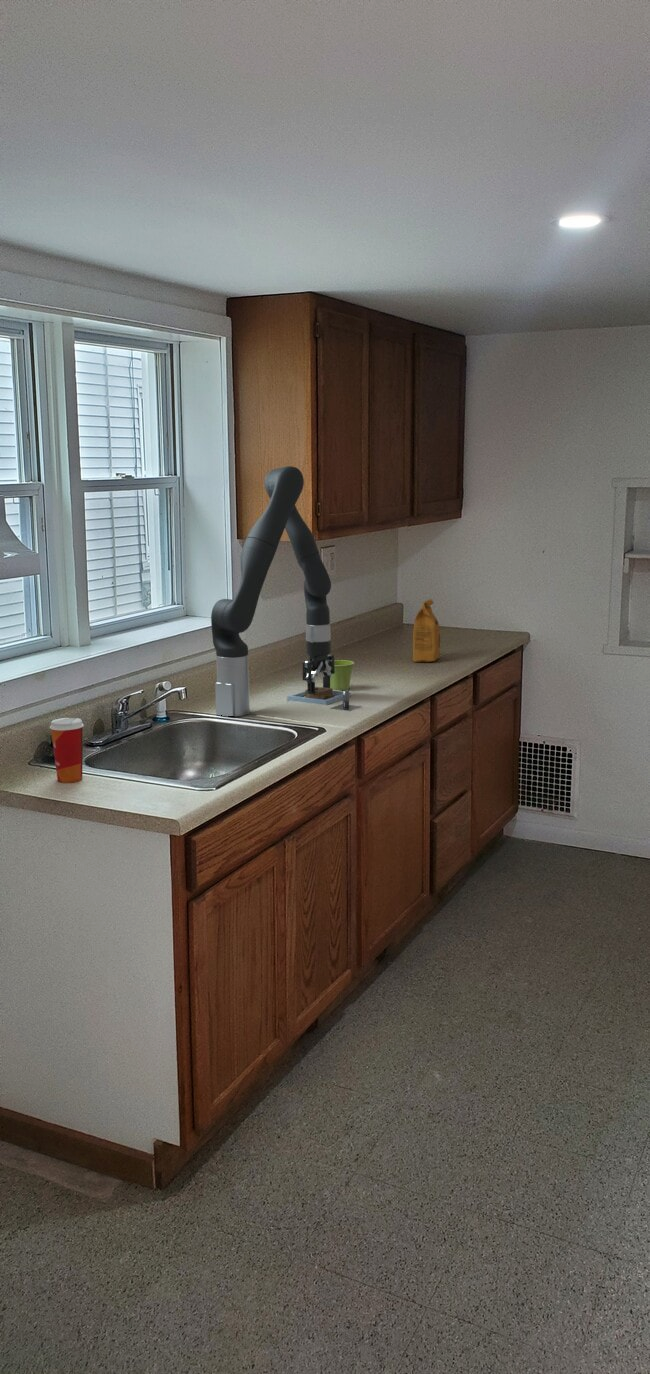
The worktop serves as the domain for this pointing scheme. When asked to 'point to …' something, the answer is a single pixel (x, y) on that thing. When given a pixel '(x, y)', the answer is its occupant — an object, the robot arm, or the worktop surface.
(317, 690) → the brown hollow rectangular frame
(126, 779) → the worktop surface
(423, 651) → the coffee package
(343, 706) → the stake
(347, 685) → the plant pot
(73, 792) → the worktop surface
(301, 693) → the tray
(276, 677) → the worktop surface
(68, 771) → the paper cup
